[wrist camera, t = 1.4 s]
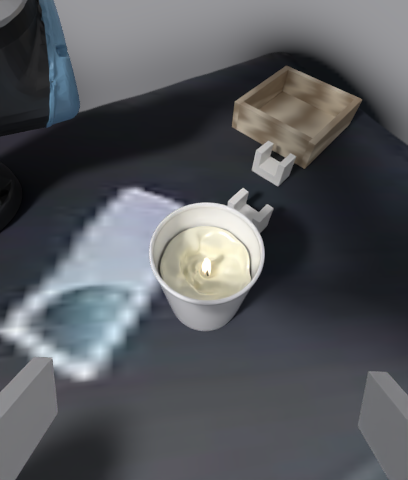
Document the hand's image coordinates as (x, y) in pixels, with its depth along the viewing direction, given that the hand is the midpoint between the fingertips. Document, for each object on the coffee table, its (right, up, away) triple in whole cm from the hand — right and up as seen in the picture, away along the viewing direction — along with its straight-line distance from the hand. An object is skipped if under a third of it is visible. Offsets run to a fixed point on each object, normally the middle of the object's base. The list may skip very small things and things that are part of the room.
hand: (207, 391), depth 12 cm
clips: (+8, +13, +31) cm, 34 cm away
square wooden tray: (+15, +27, +39) cm, 50 cm away
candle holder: (0, -1, +23) cm, 23 cm away
